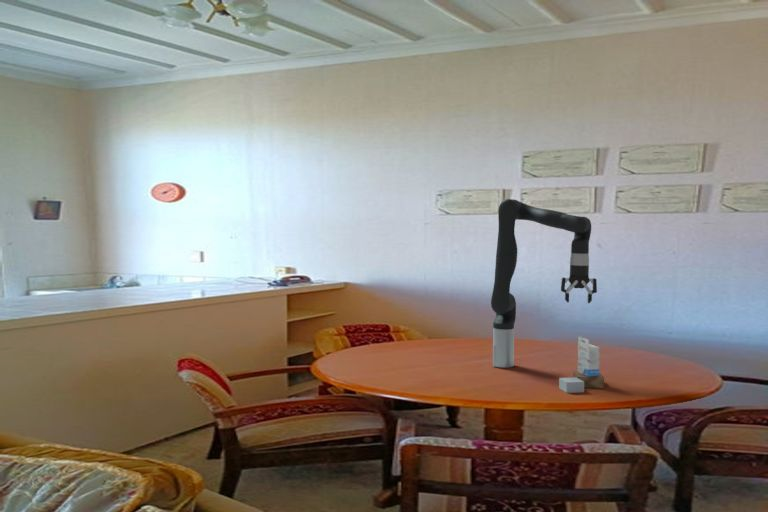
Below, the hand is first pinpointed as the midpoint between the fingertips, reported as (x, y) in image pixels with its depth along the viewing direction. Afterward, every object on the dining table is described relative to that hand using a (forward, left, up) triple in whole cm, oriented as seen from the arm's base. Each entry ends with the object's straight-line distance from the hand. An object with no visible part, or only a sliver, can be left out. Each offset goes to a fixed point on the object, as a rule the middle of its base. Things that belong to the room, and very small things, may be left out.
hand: (578, 302), depth 256 cm
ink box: (+2, -15, -27) cm, 31 cm away
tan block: (+2, -15, -31) cm, 34 cm away
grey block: (-6, -25, -31) cm, 40 cm away
